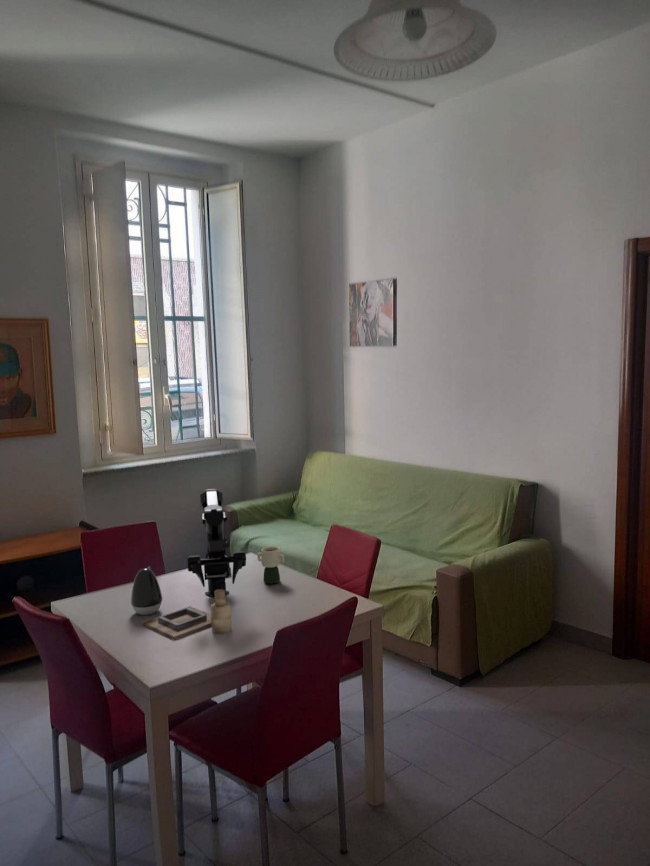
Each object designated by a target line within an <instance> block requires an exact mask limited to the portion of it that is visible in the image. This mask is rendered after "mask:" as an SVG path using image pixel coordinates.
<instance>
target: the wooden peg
mask: <svg viewBox="0 0 650 866" xmlns="http://www.w3.org/2000/svg"><path fill="white" fill-rule="evenodd" d="M214 592H215V597H214V602H213V603H212V604H210V614H211V621H212V626H211V631H212V633H214V634H218V635H222V634H227V633H229V632H231V631H232V615H231V611H232V610H231V603H230V602H229V601H226V594H225V590H223V589H218V590H215V591H214Z"/></svg>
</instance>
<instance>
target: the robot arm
mask: <svg viewBox="0 0 650 866" xmlns="http://www.w3.org/2000/svg"><path fill="white" fill-rule="evenodd" d="M223 496H224V495H223V492H222V491H219V488H208V489H207V488H206V489H204V492H202V493H201V494H199V499H200V500H199V501H200V508H202V515H201V516H202V517H201V518H202V525H204V527H205V532H206V533H205V535H206V539H205V540H206V549H207V550H206V555H205V558H201V557H200V555H199V554H198V555H197V554H196V555H189V556H188V557H186V558H187V559H186V561H187V571H188V572H189V573H190V572H191V573H192V574H195V575H196V576H197V577H198V579H199V580H200V582H201V586H202V587H203V588H205V587H206V586H205V583H206V582H205V581H206V580H207V586H208V587H207V589H208V591H206V592H204V595H206V596H208V597H209V596H210V597H212V598H215V592H214V591H215V590H218V589H223V590H225V595H228V594H230V590H229V591H228V590H227V585H226V584H227V583H226V579H229V577H230V576H231V575H232V577H231V580H232V581H231V582H232V585H234V584H235V582H236V581H235V580H236V577H237V576H238V575H237V574H238V573H239V570H242V568H244V567H245V566H247V565H246V564H247V553H246V552H245V551H243V550H241V551H234V552H233V555H232V556H227V555H226V554H227V553H226V549H230V548H231V543H230V542H231V541H230V537H225V536H224V535H225V534H224V523H226V521H228V515H227V514H226V512H225V511H223V506H224V497H223ZM225 556H227V557H225ZM228 563H229V564H228ZM230 563H231V564H232V574H231V575H230V568H231V566H230ZM202 566H203V567H202ZM203 570H204V571H203Z"/></svg>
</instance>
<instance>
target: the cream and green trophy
mask: <svg viewBox="0 0 650 866" xmlns="http://www.w3.org/2000/svg"><path fill="white" fill-rule="evenodd" d="M257 561H258V562H261V566H262V567H264V571H263V580H262V581H263V583H266V584H274V583H275V584H276V583H278V582H280V581H281V576H280V571H279V566H280V565H281V564H283V563H285V554H282V553H281V549H280V547H279V546H276V545H275V546H274V545H273V546H272V545H271V546H265V547H262V548H260V552H257Z"/></svg>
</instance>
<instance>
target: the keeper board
mask: <svg viewBox="0 0 650 866" xmlns="http://www.w3.org/2000/svg"><path fill="white" fill-rule="evenodd" d="M142 626H144V627H147V628H148V629H151V630H152V631H154V632H156V633H159V634H161V635H163V636H165V637H167V638H170V639H171V640H174V641H175V640H179V639H181V638H183V637H187V636H188V635H191V634H194V633H196V632H199V631H201V630H205V629H207V628H209V627H212V621H211V613H208V612H205V611H203V610H201V609H198V608H196V607H193V606H191V605H190V606H187V607H184V608H180V609H177V610H175V611H171V612H169V613H165V614H163V615H160V616H158V617H157V616H156V617H154V618H151V619H147V620H144V621H142Z"/></svg>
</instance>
